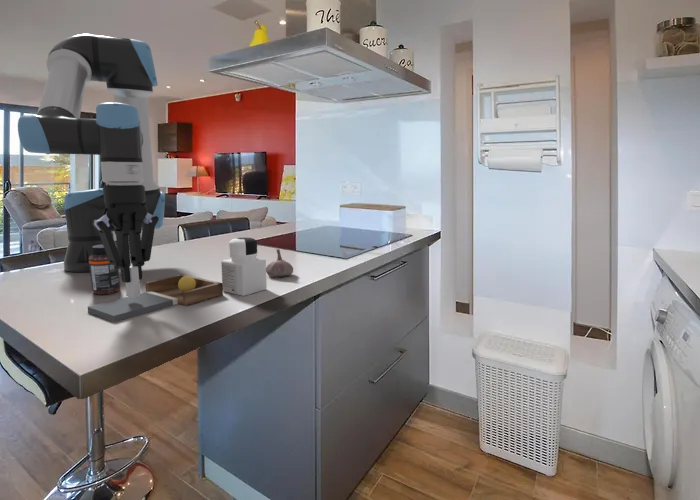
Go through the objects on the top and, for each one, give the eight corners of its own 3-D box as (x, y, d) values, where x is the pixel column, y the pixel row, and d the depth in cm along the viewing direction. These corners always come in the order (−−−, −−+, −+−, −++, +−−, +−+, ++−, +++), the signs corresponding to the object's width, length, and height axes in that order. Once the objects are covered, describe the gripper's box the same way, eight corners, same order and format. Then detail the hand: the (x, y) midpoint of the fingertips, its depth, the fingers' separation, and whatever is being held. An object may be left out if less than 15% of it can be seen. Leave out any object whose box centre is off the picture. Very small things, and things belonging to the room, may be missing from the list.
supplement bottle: (99, 288, 104) (95, 243, 102) (124, 288, 105) (120, 243, 103) (87, 295, 99) (81, 248, 96) (113, 295, 99) (109, 247, 97)
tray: (146, 294, 100) (145, 282, 99) (183, 285, 108) (182, 274, 107) (186, 306, 92) (185, 292, 91) (222, 295, 100) (222, 283, 99)
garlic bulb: (264, 279, 115) (263, 250, 114) (267, 273, 123) (267, 246, 121) (292, 279, 116) (292, 250, 114) (294, 273, 123) (293, 246, 122)
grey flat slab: (88, 312, 87) (87, 306, 87) (151, 296, 99) (150, 291, 98) (114, 321, 82) (113, 315, 82) (177, 303, 93) (177, 298, 93)
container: (246, 284, 110) (244, 235, 107) (267, 289, 105) (266, 238, 103) (221, 291, 103) (219, 238, 101) (243, 296, 99) (241, 242, 97)
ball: (172, 278, 99) (187, 272, 102) (176, 293, 101) (190, 287, 104) (183, 281, 97) (197, 275, 100) (186, 296, 98) (200, 290, 102)
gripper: (100, 185, 78) (112, 307, 82) (164, 183, 89) (171, 292, 93) (80, 184, 82) (92, 300, 86) (143, 183, 93) (151, 286, 97)
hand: (133, 296), depth 90 cm, fingers closed
